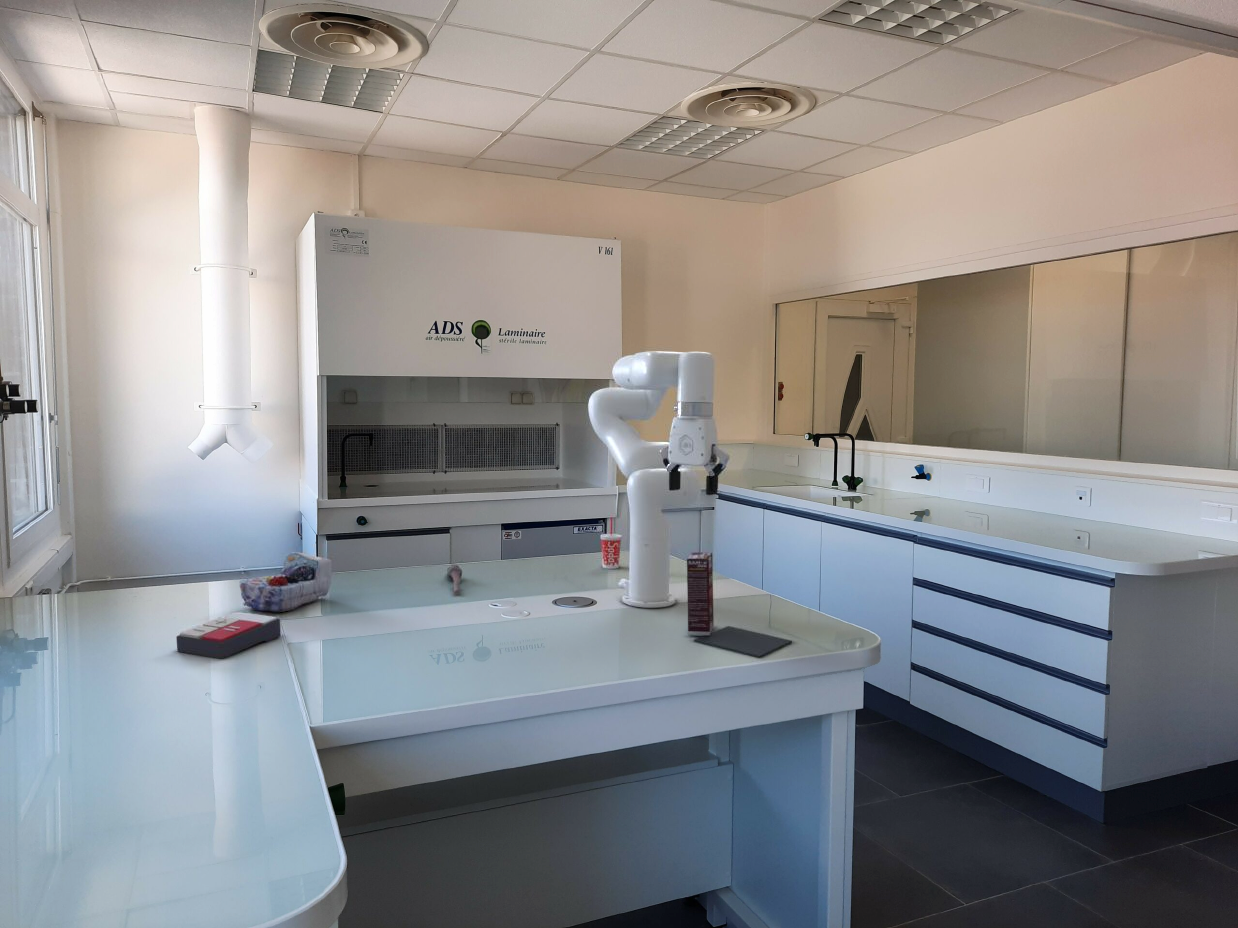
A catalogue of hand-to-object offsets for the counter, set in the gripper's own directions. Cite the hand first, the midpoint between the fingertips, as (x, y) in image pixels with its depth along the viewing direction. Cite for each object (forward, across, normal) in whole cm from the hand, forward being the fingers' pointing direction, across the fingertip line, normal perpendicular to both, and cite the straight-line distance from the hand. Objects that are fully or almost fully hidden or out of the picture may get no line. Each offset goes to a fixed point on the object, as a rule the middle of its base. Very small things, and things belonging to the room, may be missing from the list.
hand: (692, 492), depth 177 cm
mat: (+29, +15, -2) cm, 32 cm away
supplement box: (+29, +5, -2) cm, 29 cm away
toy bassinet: (+29, -74, -53) cm, 95 cm away
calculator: (+29, -54, -74) cm, 96 cm away
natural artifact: (+29, -64, -14) cm, 71 cm away
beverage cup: (+29, -50, +30) cm, 65 cm away
